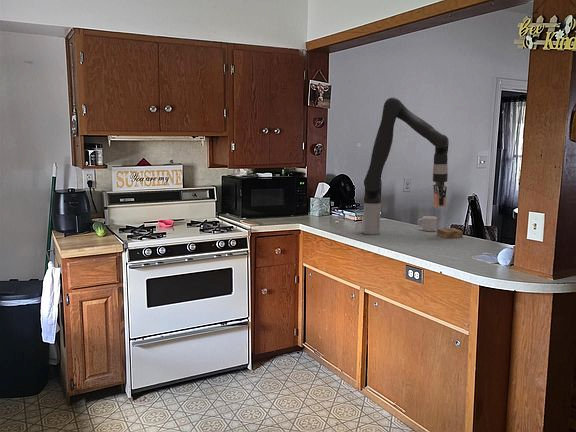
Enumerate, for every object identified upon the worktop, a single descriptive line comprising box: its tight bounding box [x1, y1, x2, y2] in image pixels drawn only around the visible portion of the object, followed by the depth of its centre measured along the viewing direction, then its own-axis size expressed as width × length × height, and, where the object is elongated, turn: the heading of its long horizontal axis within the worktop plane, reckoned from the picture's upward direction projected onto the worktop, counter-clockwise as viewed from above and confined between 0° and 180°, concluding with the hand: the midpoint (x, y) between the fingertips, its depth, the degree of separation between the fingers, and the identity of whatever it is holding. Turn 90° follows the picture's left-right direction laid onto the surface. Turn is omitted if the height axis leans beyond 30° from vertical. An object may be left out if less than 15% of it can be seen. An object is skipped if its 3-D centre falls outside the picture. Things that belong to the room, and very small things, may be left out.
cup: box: [417, 215, 438, 232], centre depth 310 cm, size 11×8×8 cm
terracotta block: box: [432, 192, 447, 208], centre depth 287 cm, size 5×5×7 cm
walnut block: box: [436, 227, 464, 239], centre depth 292 cm, size 10×10×4 cm
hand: (439, 204), depth 287 cm, fingers closed on terracotta block, 5 cm apart
